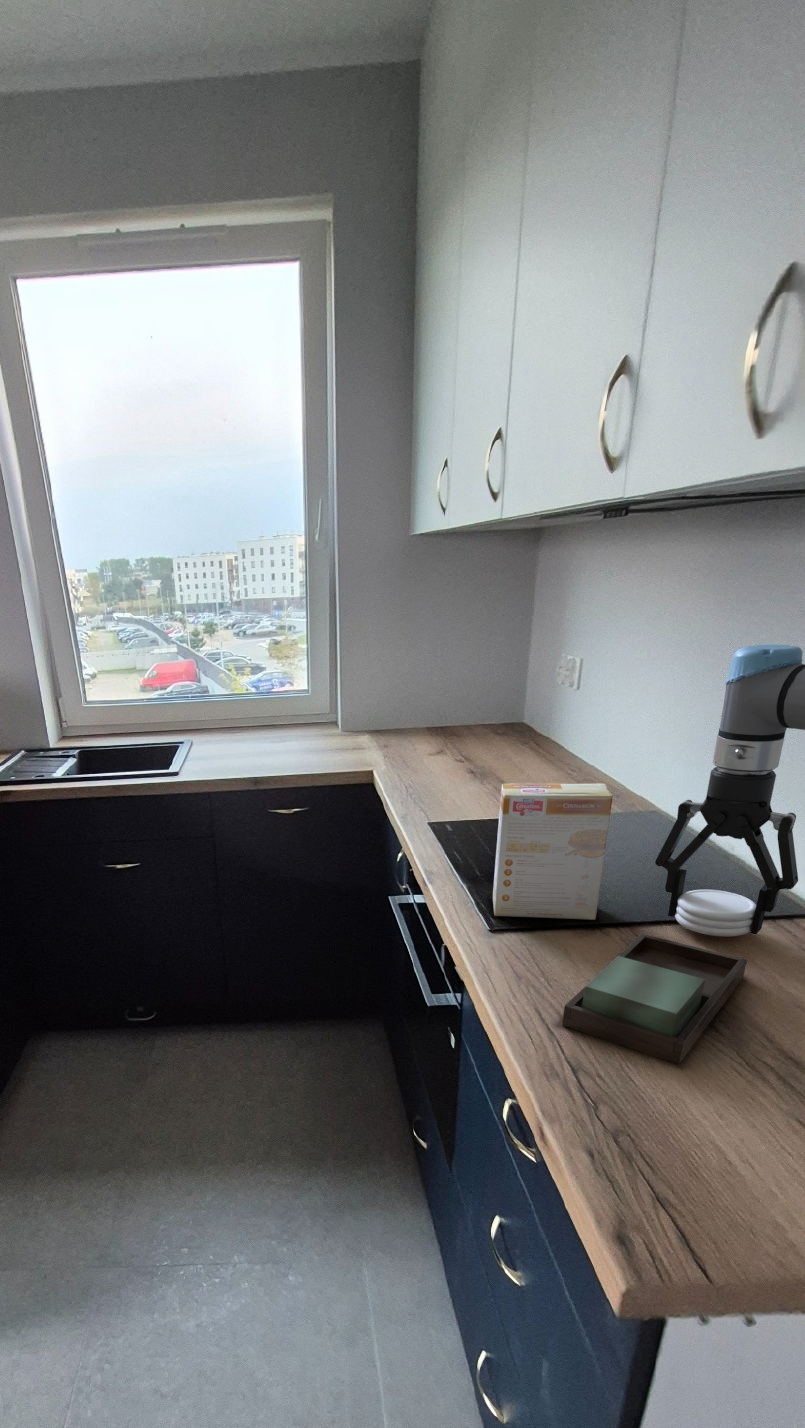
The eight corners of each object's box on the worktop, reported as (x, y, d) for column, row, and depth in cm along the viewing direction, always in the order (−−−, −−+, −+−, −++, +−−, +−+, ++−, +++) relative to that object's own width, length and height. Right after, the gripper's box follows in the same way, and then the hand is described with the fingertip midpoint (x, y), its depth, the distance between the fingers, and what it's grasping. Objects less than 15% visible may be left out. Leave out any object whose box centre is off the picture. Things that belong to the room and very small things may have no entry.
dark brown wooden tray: (742, 978, 103) (751, 942, 101) (678, 1064, 87) (687, 1023, 85) (638, 950, 111) (644, 916, 109) (561, 1025, 95) (567, 987, 93)
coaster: (665, 909, 120) (668, 888, 119) (736, 910, 119) (741, 888, 117) (687, 937, 111) (692, 914, 110) (765, 938, 110) (771, 915, 108)
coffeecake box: (589, 903, 127) (605, 782, 119) (596, 921, 121) (615, 795, 112) (491, 899, 130) (501, 781, 122) (493, 917, 124) (504, 794, 116)
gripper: (644, 765, 111) (623, 912, 120) (840, 785, 96) (799, 951, 105) (663, 754, 116) (641, 896, 125) (852, 772, 101) (811, 932, 110)
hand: (713, 921), depth 115 cm, fingers closed on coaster, 10 cm apart
